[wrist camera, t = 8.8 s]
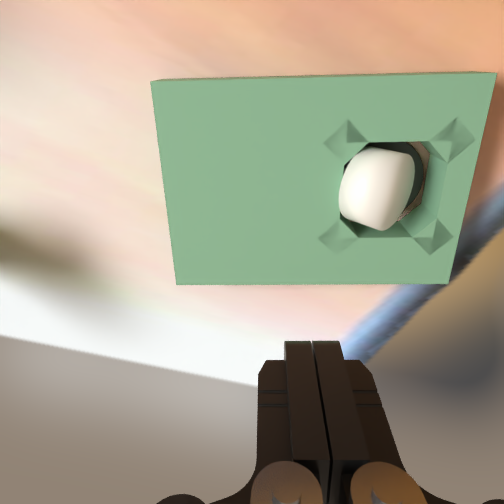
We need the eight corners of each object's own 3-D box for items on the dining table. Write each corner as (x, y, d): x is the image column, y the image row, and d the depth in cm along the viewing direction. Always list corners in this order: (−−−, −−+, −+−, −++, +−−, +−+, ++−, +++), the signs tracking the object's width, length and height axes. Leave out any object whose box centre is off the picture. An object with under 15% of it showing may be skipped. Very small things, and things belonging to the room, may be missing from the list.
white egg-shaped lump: (342, 155, 24) (379, 164, 22) (385, 139, 27) (420, 146, 25) (335, 229, 26) (368, 241, 25) (374, 206, 29) (406, 216, 28)
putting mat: (183, 265, 32) (176, 284, 29) (162, 79, 26) (150, 81, 23) (432, 264, 31) (448, 283, 28) (472, 71, 25) (497, 72, 22)
